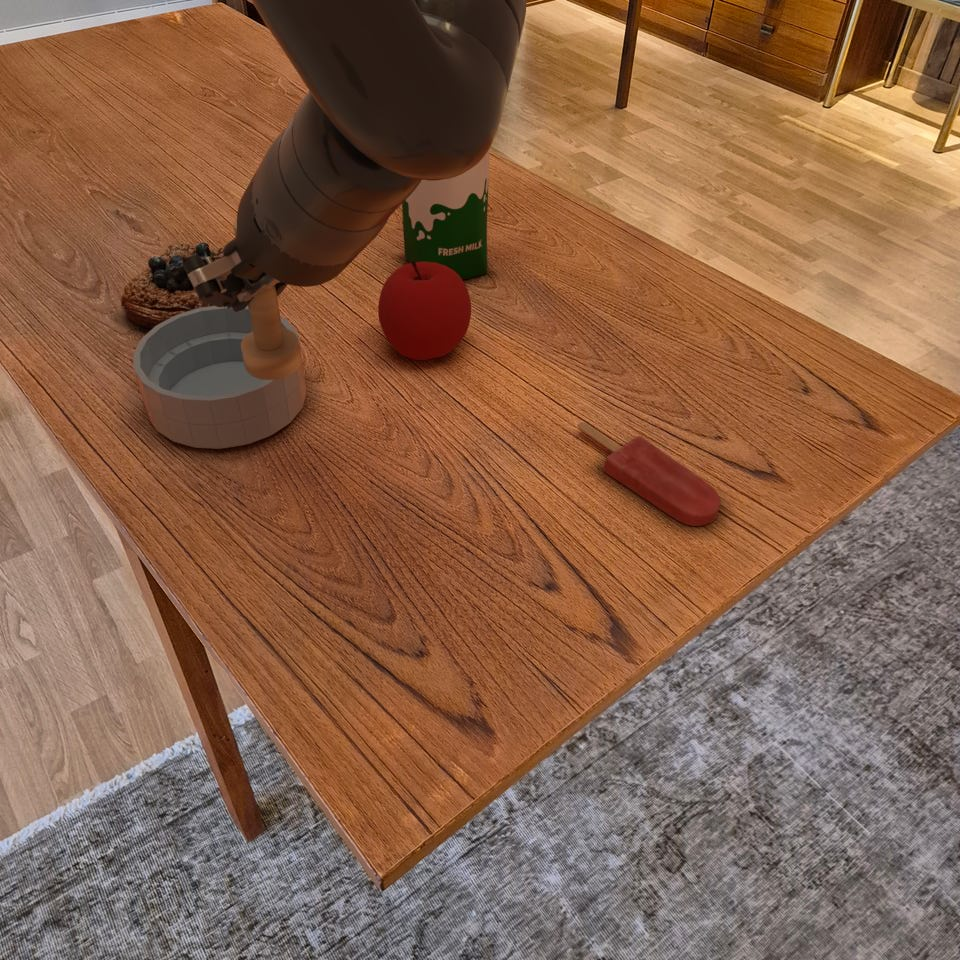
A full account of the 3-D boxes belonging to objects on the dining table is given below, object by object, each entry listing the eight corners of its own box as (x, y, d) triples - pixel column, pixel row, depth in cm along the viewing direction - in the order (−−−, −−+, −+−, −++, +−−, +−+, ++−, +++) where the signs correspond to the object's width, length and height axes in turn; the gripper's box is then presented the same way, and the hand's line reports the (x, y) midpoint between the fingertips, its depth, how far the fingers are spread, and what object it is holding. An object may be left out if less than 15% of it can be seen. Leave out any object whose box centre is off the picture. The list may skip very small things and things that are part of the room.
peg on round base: (258, 387, 68) (231, 244, 59) (235, 358, 70) (206, 217, 62) (311, 368, 70) (292, 227, 61) (286, 341, 72) (265, 202, 64)
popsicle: (597, 405, 80) (733, 496, 73) (594, 420, 82) (728, 510, 74) (562, 427, 78) (699, 522, 70) (560, 441, 79) (694, 537, 72)
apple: (454, 381, 85) (455, 291, 78) (366, 364, 87) (359, 274, 80) (480, 329, 92) (483, 241, 85) (398, 314, 93) (393, 227, 87)
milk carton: (462, 240, 105) (464, 63, 91) (498, 277, 99) (507, 94, 85) (394, 256, 102) (385, 76, 88) (427, 295, 96) (424, 109, 82)
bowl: (182, 475, 75) (166, 420, 71) (128, 387, 84) (111, 333, 79) (333, 418, 81) (326, 364, 77) (268, 341, 89) (259, 289, 85)
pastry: (267, 287, 97) (259, 238, 93) (210, 348, 88) (199, 297, 84) (177, 269, 99) (166, 220, 95) (114, 327, 91) (98, 276, 86)
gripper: (386, 114, 55) (306, 220, 70) (177, 173, 49) (138, 276, 64) (439, 227, 56) (348, 307, 71) (239, 299, 49) (186, 371, 65)
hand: (249, 292), depth 67 cm, fingers closed on peg on round base, 2 cm apart
